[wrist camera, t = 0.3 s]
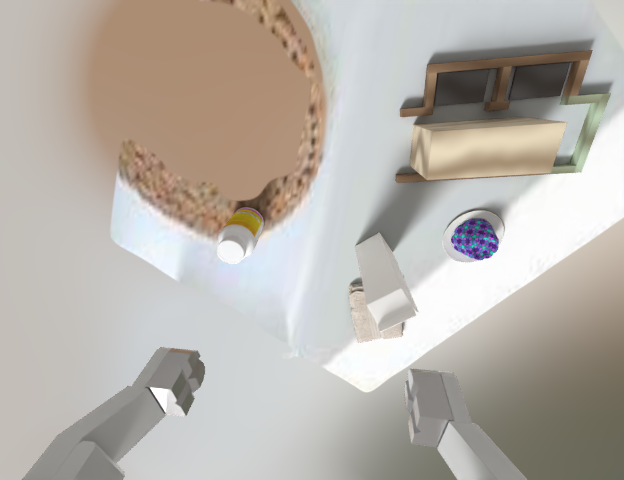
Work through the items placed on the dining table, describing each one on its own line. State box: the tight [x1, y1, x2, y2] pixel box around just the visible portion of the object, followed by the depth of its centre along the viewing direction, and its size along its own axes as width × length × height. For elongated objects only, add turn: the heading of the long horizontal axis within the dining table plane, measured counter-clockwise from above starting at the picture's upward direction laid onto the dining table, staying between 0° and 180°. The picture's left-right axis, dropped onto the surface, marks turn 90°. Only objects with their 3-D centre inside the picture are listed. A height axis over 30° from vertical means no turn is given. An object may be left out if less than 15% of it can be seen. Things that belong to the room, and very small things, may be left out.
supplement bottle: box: [217, 207, 264, 264], centre depth 52 cm, size 7×7×13 cm
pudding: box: [443, 210, 504, 262], centre depth 56 cm, size 12×12×5 cm
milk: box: [355, 233, 419, 332], centre depth 50 cm, size 6×6×22 cm
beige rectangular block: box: [410, 117, 567, 180], centre depth 45 cm, size 7×18×10 cm, turn 94°
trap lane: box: [396, 50, 611, 183], centre depth 47 cm, size 18×32×2 cm, turn 94°
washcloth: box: [349, 283, 403, 343], centre depth 67 cm, size 12×18×3 cm, turn 12°
